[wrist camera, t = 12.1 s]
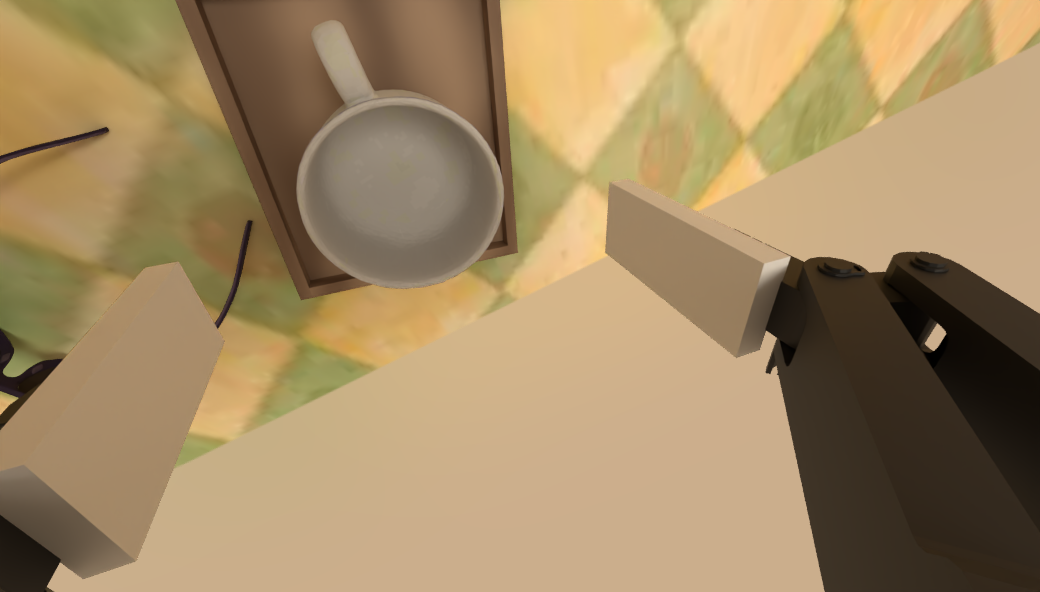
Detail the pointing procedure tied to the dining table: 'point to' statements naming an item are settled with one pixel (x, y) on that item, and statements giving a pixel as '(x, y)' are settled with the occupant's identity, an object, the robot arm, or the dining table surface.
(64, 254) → the dining table surface
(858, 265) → the robot arm
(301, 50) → the tray
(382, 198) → the teacup
